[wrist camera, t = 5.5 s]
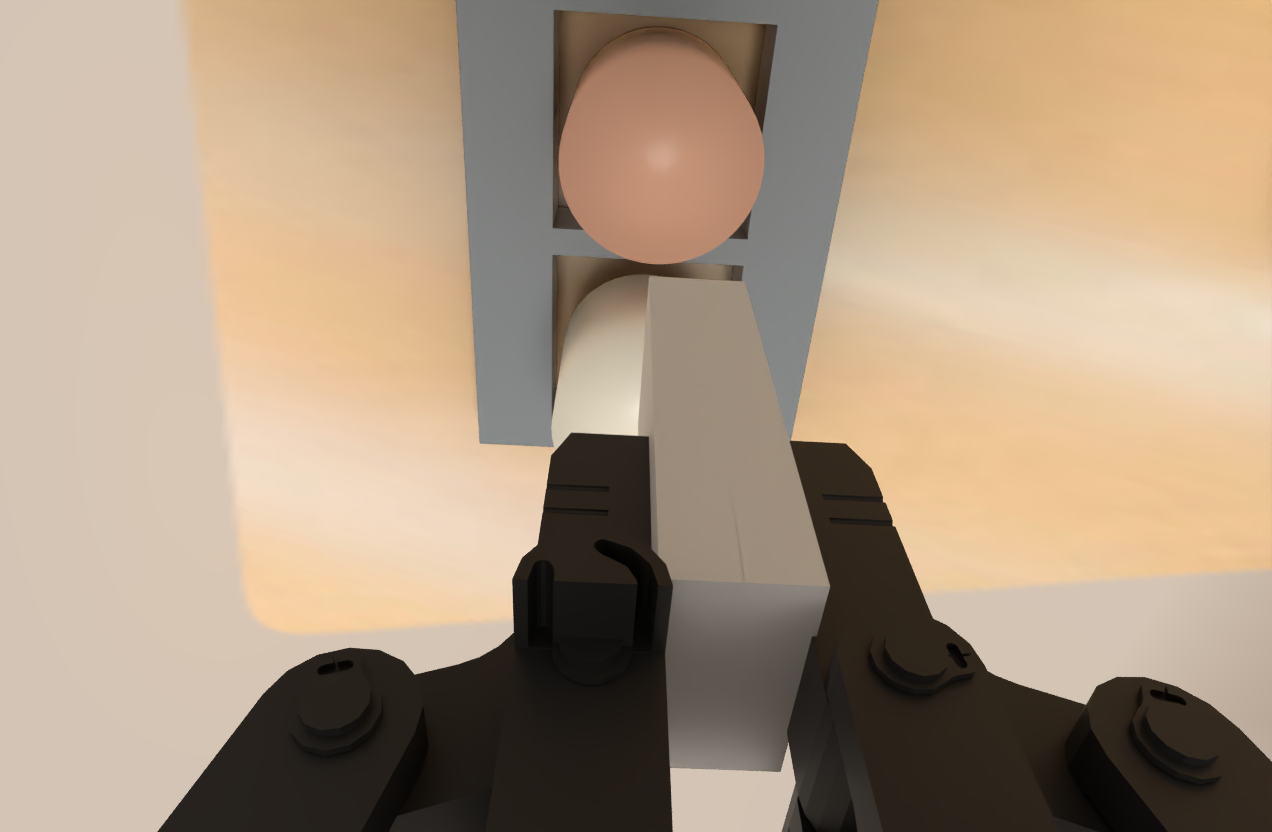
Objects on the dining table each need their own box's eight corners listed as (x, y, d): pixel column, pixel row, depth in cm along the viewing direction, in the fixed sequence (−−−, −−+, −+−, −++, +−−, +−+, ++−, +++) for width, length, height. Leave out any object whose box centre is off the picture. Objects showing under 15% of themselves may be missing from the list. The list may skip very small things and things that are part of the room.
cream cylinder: (565, 269, 29) (551, 345, 24) (728, 278, 30) (748, 356, 24) (563, 408, 33) (550, 501, 27) (710, 416, 33) (724, 509, 28)
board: (451, -400, 22) (432, -431, 20) (926, -359, 22) (955, -386, 20) (488, 412, 36) (479, 443, 34) (778, 427, 36) (787, 458, 34)
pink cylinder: (573, 21, 27) (559, 48, 22) (752, 33, 27) (779, 62, 22) (570, 198, 30) (557, 258, 25) (730, 208, 30) (749, 269, 25)
